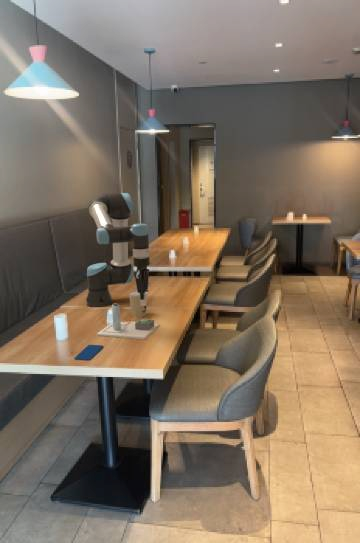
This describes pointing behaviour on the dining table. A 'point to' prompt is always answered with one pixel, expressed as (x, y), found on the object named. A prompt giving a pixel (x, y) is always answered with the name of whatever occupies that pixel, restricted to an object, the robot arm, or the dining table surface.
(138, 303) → the coffee cup
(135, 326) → the board
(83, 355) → the smartphone
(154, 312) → the dining table surface
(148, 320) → the button
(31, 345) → the dining table surface
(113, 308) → the marker
